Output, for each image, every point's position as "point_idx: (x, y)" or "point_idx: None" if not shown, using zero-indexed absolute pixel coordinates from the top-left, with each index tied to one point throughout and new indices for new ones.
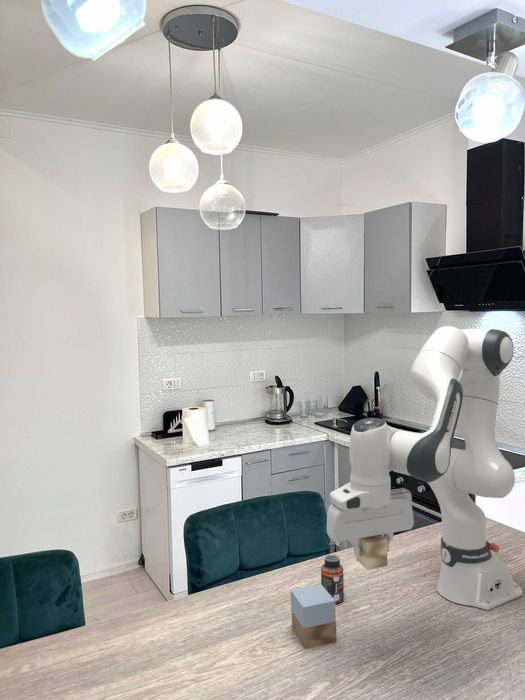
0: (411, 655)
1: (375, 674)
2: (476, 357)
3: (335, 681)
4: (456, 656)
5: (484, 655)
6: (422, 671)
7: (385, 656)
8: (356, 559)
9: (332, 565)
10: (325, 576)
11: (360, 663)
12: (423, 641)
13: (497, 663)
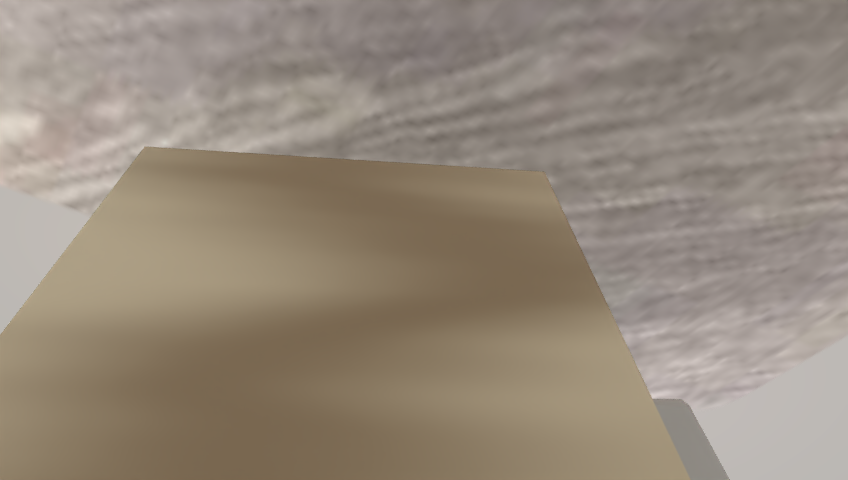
0: (530, 119)
1: None
2: None
3: (72, 132)
4: (705, 204)
5: (810, 242)
6: None
7: (405, 74)
8: (143, 154)
9: None
10: None
11: (251, 68)
12: (670, 52)
13: (802, 294)
